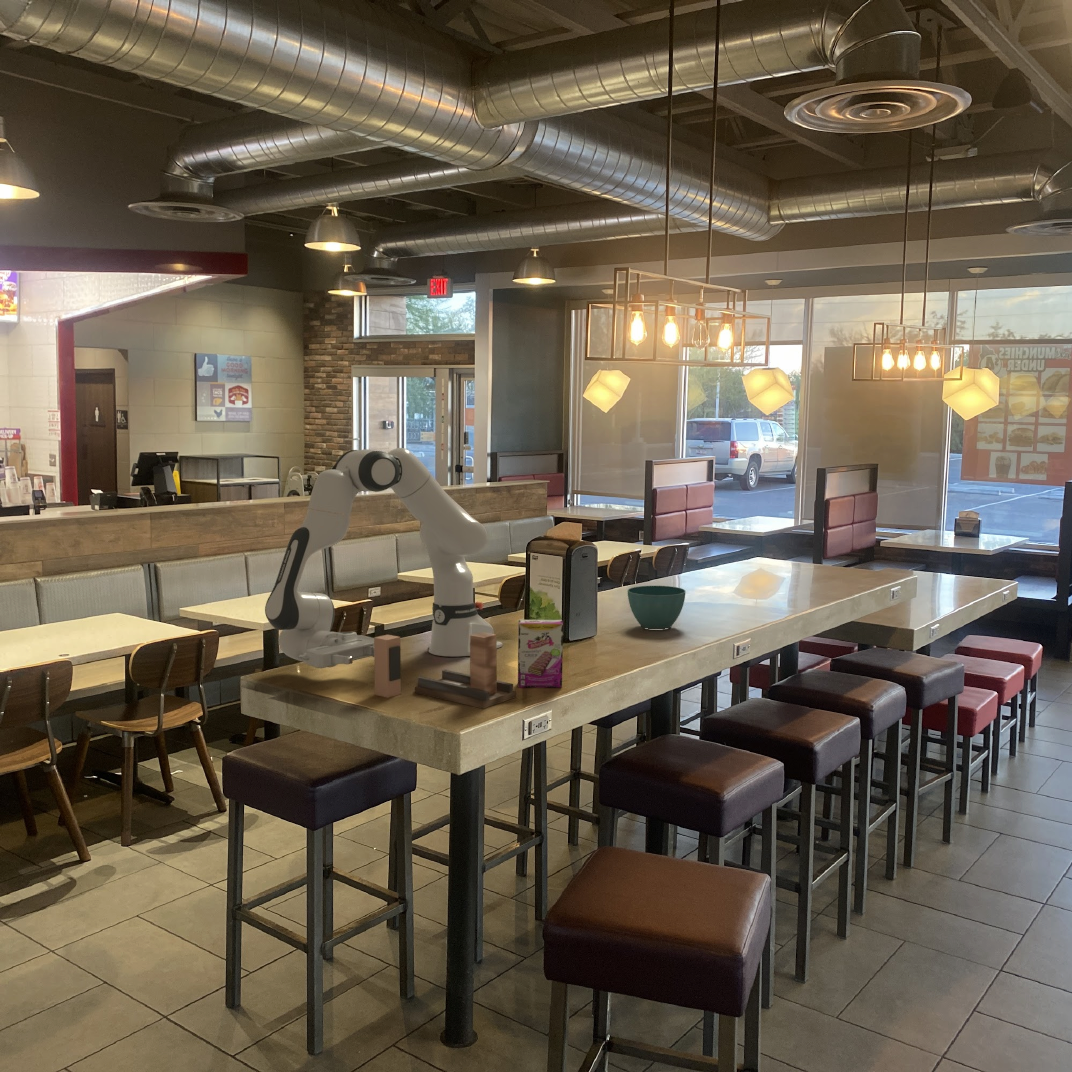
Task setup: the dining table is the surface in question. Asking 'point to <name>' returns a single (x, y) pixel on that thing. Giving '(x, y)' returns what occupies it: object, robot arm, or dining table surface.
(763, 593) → the dining table surface
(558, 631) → the candy bar box
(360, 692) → the dining table surface
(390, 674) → the tall tan pillar
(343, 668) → the dining table surface
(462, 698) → the wooden stand
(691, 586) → the dining table surface
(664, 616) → the dark green round bowl
